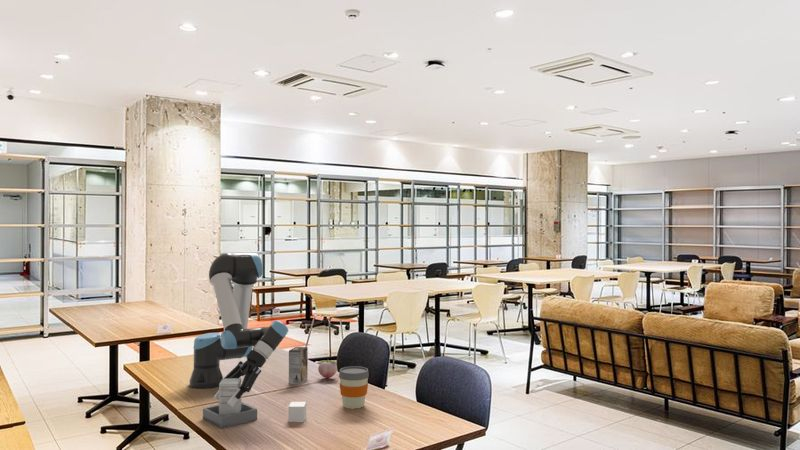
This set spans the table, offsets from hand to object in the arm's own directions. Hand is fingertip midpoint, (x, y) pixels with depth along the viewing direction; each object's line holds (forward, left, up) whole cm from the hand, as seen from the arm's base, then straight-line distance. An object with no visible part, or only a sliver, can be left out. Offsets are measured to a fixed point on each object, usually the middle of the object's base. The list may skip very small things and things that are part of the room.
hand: (223, 401), depth 221 cm
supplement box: (0, +3, -5) cm, 6 cm away
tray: (0, +3, -7) cm, 8 cm away
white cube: (+18, +22, -8) cm, 29 cm away
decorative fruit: (-21, +67, -8) cm, 71 cm away
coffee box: (-26, +53, -8) cm, 59 cm away
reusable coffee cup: (+20, +49, -8) cm, 53 cm away
